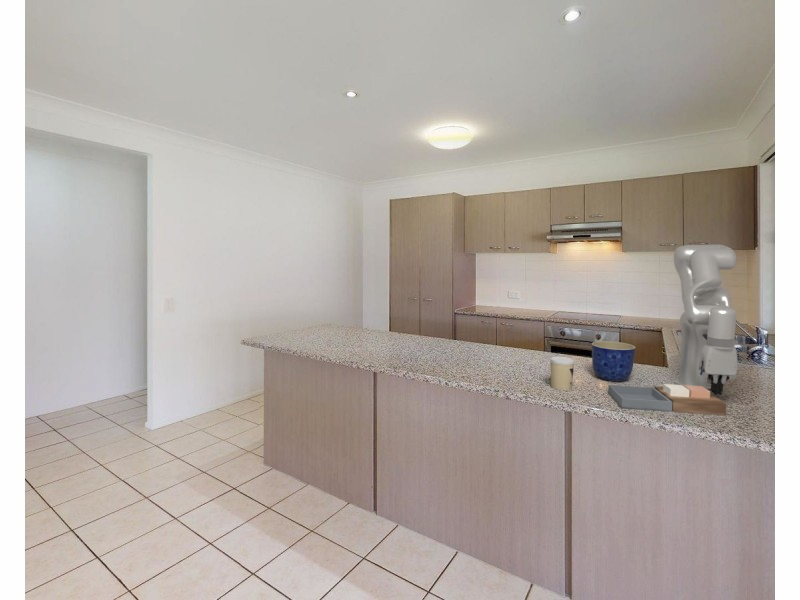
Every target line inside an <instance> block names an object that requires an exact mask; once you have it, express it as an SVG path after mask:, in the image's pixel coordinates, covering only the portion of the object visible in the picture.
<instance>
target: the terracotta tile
mask: <svg viewBox="0 0 800 600" xmlns="http://www.w3.org/2000/svg"><path fill="white" fill-rule="evenodd" d="M683 386H684V387H685V388H687V389H688V390H690V391H689V396H690V397H697V398H710V394H711V391H710V389H708V390H707V389H706V388H704V387H702V386H691V385H683Z"/></svg>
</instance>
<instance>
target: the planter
mask: <svg viewBox="0 0 800 600" xmlns="http://www.w3.org/2000/svg"><path fill="white" fill-rule="evenodd" d="M635 353H636V346H635V345H633V344H630V343H626V342H621V341H620V342H619V341H609V340H608V341H607V340H604V341H602V340H601V341H600V340H599V341H593V342H592V343H591V359H592V361H591V363H592V370H593V371H594V372H593V373H594V374H595V376H597V377H598V378H599V379H602V380H604V381H608V382H624V381H626V380H628V379H629V378H630V376H631V375H632V373H633V369H634V361H635V355H636V354H635Z"/></svg>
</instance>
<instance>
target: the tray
mask: <svg viewBox="0 0 800 600" xmlns="http://www.w3.org/2000/svg"><path fill="white" fill-rule="evenodd" d="M607 394H608V395H609V396H610V398H611V399H614V400H613V401H614V402H615V403H616V404H617V405H618V406H619V407H620V409H624V410H625V409H626V410H639V411H640V410H641V411H653V412H656V411H658V412H672V401H671V400H669V399H668V398H667V397H665V396H664V395H663V394H661V393H660V392H659V391H658V390H656V389H655V388H654V386H653V387H651V386H650V387H649V386H633V385H632V386H631V385H630V386H629V385H618V384H617V385H615V384H613V385H612V384H608V391H607Z"/></svg>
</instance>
